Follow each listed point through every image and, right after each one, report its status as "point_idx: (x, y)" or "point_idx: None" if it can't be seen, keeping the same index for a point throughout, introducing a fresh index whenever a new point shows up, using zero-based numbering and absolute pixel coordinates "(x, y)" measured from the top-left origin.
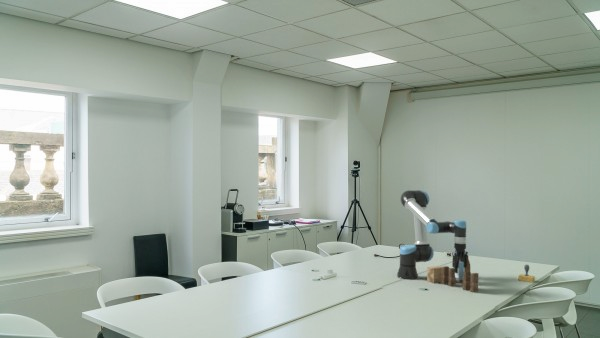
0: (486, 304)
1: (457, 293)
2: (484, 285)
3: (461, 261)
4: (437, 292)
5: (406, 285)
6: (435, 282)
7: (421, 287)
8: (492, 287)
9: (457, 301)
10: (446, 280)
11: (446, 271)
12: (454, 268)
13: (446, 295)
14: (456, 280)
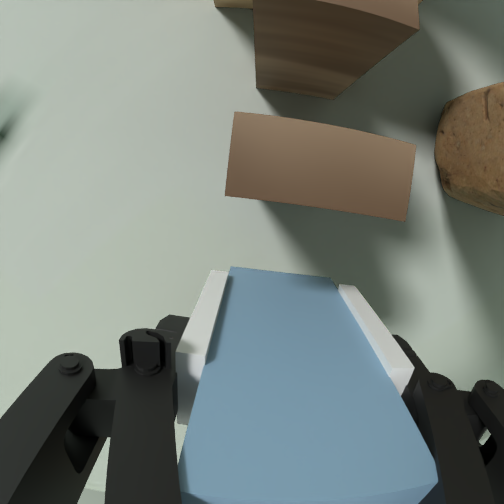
0: (96, 479)
1: (94, 346)
2: (490, 324)
3: (428, 498)
4: (2, 244)
5: (3, 14)
6: (242, 6)
7: (14, 84)
8: (466, 378)
9: (10, 397)
10: (299, 83)
11: (315, 40)
12: (359, 205)
13: (10, 320)
14: (442, 130)
